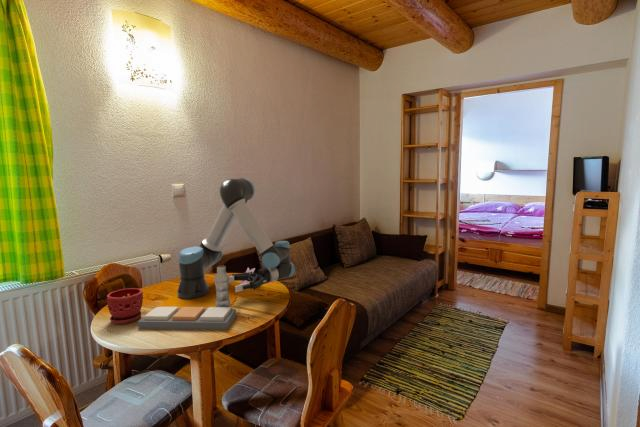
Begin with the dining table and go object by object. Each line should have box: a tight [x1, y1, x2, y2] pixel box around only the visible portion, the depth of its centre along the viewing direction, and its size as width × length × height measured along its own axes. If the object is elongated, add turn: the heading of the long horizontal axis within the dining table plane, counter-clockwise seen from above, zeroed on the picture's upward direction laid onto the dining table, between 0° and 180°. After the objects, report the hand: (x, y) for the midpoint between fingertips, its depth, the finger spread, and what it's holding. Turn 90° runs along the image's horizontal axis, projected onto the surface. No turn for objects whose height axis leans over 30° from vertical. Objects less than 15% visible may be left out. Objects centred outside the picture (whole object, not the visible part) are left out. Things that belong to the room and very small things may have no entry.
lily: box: [239, 267, 256, 285], centre depth 182 cm, size 12×12×10 cm
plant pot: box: [106, 287, 144, 325], centre depth 141 cm, size 13×13×12 cm
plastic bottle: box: [213, 265, 231, 307], centre depth 150 cm, size 6×7×20 cm
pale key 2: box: [200, 306, 232, 321], centre depth 138 cm, size 9×9×2 cm
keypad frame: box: [137, 308, 237, 331], centre depth 138 cm, size 13×36×3 cm, turn 88°
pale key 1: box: [143, 306, 179, 320], centre depth 139 cm, size 9×9×2 cm
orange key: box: [172, 306, 205, 321], centre depth 138 cm, size 9×9×2 cm
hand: (228, 285), depth 151 cm, fingers open, 13 cm apart
